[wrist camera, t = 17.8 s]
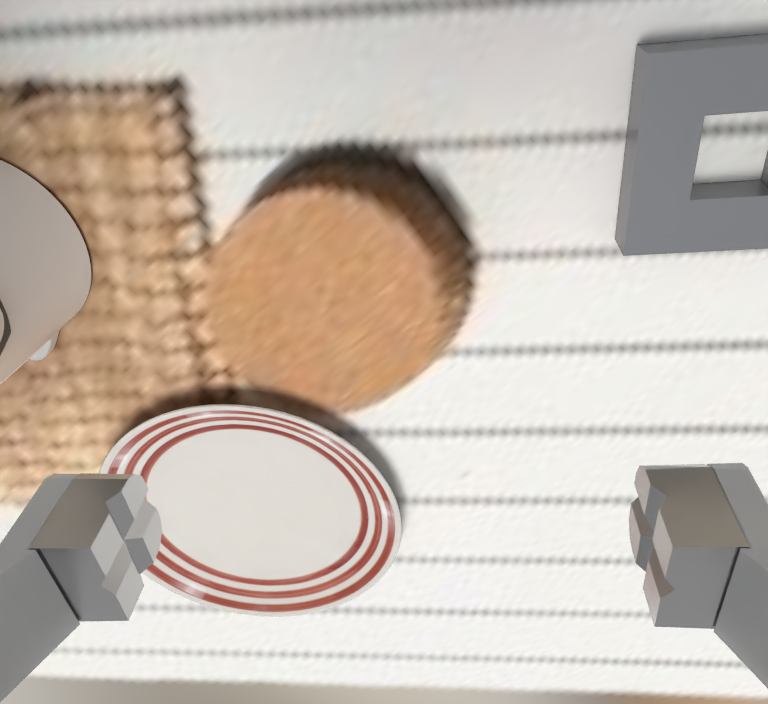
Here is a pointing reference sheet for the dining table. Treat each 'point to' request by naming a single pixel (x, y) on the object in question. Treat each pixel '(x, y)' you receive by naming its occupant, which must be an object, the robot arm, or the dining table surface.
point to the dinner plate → (260, 509)
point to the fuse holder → (690, 148)
